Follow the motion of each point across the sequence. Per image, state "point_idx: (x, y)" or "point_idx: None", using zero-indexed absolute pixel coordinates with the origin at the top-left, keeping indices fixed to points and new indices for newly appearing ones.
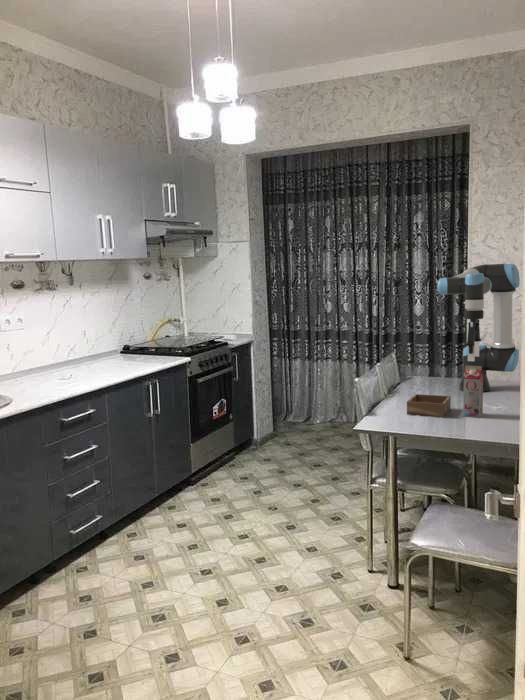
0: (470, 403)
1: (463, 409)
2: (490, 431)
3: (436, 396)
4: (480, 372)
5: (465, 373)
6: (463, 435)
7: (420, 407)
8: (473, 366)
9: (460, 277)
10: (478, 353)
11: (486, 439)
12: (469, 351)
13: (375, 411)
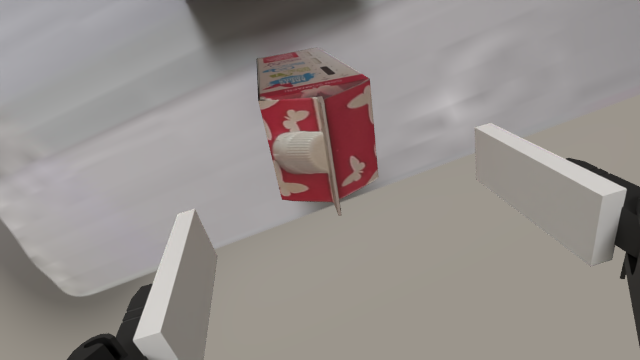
0: (264, 100)
1: (257, 63)
2: (132, 216)
3: None
4: (309, 199)
5: (271, 110)
6: (10, 172)
7: None
8: (329, 164)
9: None
10: (492, 188)
11: (36, 242)
12: (131, 312)
13: None
